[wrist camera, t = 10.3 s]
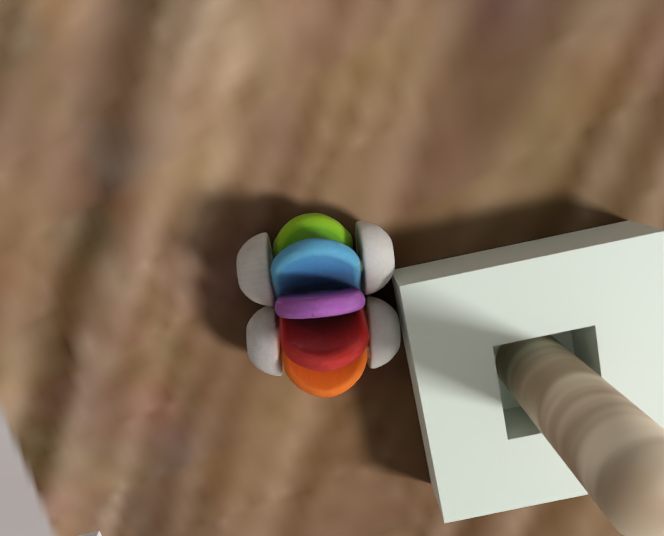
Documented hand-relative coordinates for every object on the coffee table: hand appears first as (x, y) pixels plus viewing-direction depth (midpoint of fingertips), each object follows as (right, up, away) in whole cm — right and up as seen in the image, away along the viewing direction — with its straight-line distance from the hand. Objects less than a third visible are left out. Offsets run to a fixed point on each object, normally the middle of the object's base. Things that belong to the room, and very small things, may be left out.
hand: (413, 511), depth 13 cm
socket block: (+10, 0, +24) cm, 26 cm away
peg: (+10, 0, +23) cm, 25 cm away
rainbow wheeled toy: (-2, +4, +23) cm, 24 cm away
